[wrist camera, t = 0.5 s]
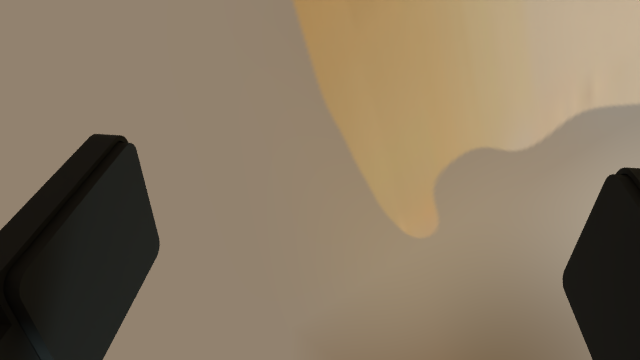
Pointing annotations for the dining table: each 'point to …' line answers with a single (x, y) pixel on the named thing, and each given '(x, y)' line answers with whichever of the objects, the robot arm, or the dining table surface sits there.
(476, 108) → the dining table surface
